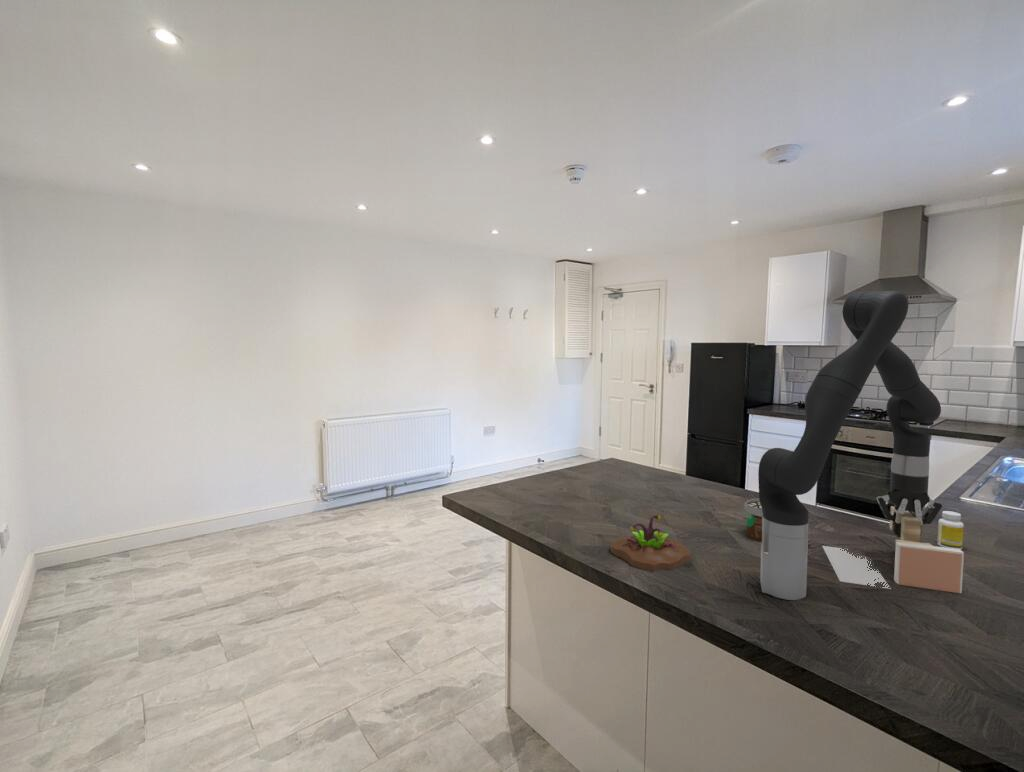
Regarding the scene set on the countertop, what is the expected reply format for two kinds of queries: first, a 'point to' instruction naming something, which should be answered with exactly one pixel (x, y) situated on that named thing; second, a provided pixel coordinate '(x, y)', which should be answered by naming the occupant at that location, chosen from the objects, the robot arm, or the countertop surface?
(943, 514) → the supplement bottle
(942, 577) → the tile
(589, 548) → the countertop surface
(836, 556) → the mat
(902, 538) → the turner
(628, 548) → the toy plant on soil
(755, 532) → the food container
